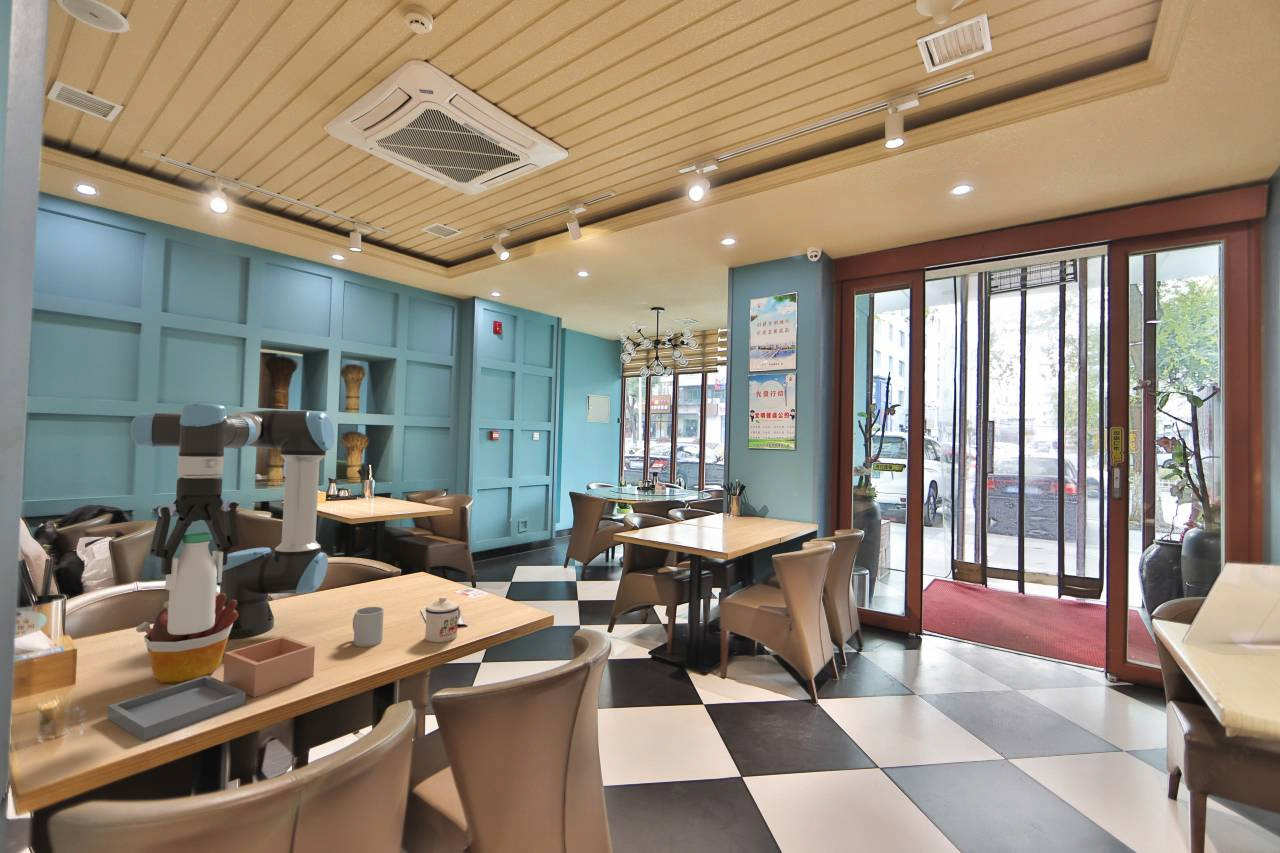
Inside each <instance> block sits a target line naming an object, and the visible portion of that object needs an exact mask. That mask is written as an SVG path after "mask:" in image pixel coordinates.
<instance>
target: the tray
mask: <svg viewBox="0 0 1280 853" xmlns="http://www.w3.org/2000/svg"><path fill="white" fill-rule="evenodd" d="M246 695H247V694H246V692H244V691H242V690H240V689H238V688H235V687H233V686H231V685H229V684H227V683H224V682H223V680H222V681H221V680H219V679H218V678H215V677H213V676H211V675H210V674H209V675H206V676H203V677H200V678H197V679H193V680H190V681H187V682H182V683H176V684H175V685H174V684H173V685H172V686H168V687H165V688H161V689H158V690H154V691H151V692H148V693H145V694H142V695H138V696H136V697H131V698H129V699H126V700H122V701H119V702H116V703H113V704H109V705H108V706H107V707H108V709H107V719H108V720H109V721H110V722H113V723H114V724H115V725H117V726H118V727H121V728H122V729H123V730H125V731H127V732H128V733H130V734H132V735H133V736H135V737H136V738H138V739H139V740H141V741H143V742H146V741H149V740H151V739H154V738H157V737H160V736H162V735H165V734H167V733H170V732H173V731H176V730H178V729H181V728H183V727H186V726H188V725H191V724H194V723H195V724H196V723H197V722H199V721H202V720H205V719H208V718H210V717H213V716H216V715H219V714H221V713H225V712H227V711H230V710H232V709H233V710H234V709H235V708H238V707H241V706H243V705H246Z"/></svg>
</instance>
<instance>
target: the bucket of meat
mask: <svg viewBox="0 0 1280 853" xmlns="http://www.w3.org/2000/svg"><path fill="white" fill-rule="evenodd" d="M226 599H227V596H226V594H225V593H220V592H219V594H218V595H216V611H215V624H214V626H213V627H212V628H210V629H208V630H205V631H202V632H198V633H193V634H185V635H173V634H169V633H168V631H167V626H168V608H169V600H168V601H165V602H164V603H163V608H164V609H162V610H161V611H159V612H158V615H157V616H156V618H155V621H154V623H153V625H152V628H151V623H150V622H147V621H143V623H141V624H139V625H138V626H136V629H135V631H136V632H137V633H144V632H145V633H146V634H145V635H144V636H143V637H144V642H145V645H146V649H147V652H148V656H149V661H150V664H151V670H152V672H153V673H152V674H153V676H154V677H155V678H156V679H157V680H158V681H159V682H161V683H162V684H180V683H184V682H187V681H190V680H193V679H197V678H200V677H203V676H206V675H209V676H210V675H212V674H213V673H214V672H215V670H217V668H218V667H219V665H221V662H222V659H223V655H224V654H225V649H226V646H227V643H228V640H229V639H228V637H229V634H230V630H231V628H232V625H233V622H234V621H235V620H236V619H237V618H238V616H239V614H238V613H237V611H236V610H234V609H235V607H236V605H237V601H236V600H231V601H230V602H228V604H227V605H226V607H225V606H224V604H225V601H226Z"/></svg>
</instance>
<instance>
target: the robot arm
mask: <svg viewBox="0 0 1280 853" xmlns="http://www.w3.org/2000/svg"><path fill="white" fill-rule="evenodd" d="M130 423H131V424H130V432H129V434H130V437H131V439H132V440H133V442H134V443H135V444H137V445H139V446H143V447H144V446H145V447H154V448H155V447H160V448H161V447H165V448H166V447H167V448H168V447H172V448H173V447H176V448H178V460H177V475H178V476H180V477H178V478H177V479H176V492H175V495H176V496H175V497H176V499H175V501H174V502H173V503H172V504H170V505H166V506H165V505H164V506H161V505H159V506H157V507H156V508H155V511H156V516H157V520H156V524H155V529H154V532H153V533H154V534H153V537H152V541H151V544H150V545H151V546H150V550H149V555H150V556H152V557H157V558H160V559H161V560H160V561H161V565H160V566H161V567H160V573H161V575H164V576H165V584H164V585H165V590H166V591H169V592H170V591H176V585H177V568H178V560H179V558H178V557H175V554H176V552H177V550H178V548H179V546H180V544H181V542H182V538H183V536H184V535H185V534H187V533H186V532H187V530H188V528H189V527H190V526H191V525H192V524H193V522H199V521H203V522H205V523H206V526H207V527H208V528H207V529H208V530H209V533H210V536H211V538H212V540H213V542H214V544H215V547H216V549H217V550H212V554H211V557H212V558H213V560H214V562H215V565H216V569H217V584H218V583H219V594H220V593H225V594H226V596H227V599H226V601H225V604H224V606H225V607H226V605H227V604H228V602H230V601H231V600H236V601H237V605H236V607H235V609H234V610H236V611H237V613H238V614H239V616H238V618H237V619H236V620H235V621H234V622H233V625H232V628H231V630H230V634H229V637H228V640H231V639H240V638H247V637H252V636H256V635H260V634H263V633H266V632H268V631H270V630H272V629H273V628H274V627H275V626H274V625H275V617H274V613H273V611H272V608H271V605H270V603H269V602H270V601H269V594H270V595H272V594H273V595H274V594H276V595H277V594H296V595H300V594H306V593H307V594H309V593H310V594H311V593H314V592H315V591H317V590H318V589H319V588H320V587H321V585H322V584H323V581H324V579H325V578H326V574H327V570H328V563H329V560H328V555H327V553H325V552H324V551H321V549H322V547H321V544H320V543H318V541H317V540H316V534H317V532H316V531H317V516H318V514H317V512H318V495H319V479H320V462H321V461H322V460H323V459H324V458H325V457H326V455H327V453H326V452H327V451H330V450H332V448H333V446H334V443H335V430H334V426H333V422H332V420H331V419H330V417H329V415H327V414H326V413H324V412H322V411H312V410H279V409H266V410H256V411H239V412H235V413H232V414H231V415H230V414H228V415H227V408H226V407H225V406H224V405H223V404H213V403H194V402H189V403H186V404H183V406H182V407H181V413H169V412H168V413H166V412H165V413H162V412H144V413H139V414H137V415H135V416H134V418H132V421H131V422H130ZM244 447H245V448H246V447H255V448H261V449H272V450H273V449H274V450H280V452H279V454H280V457H281V458H282V459H283V460H284V461H285V471H284V472H285V474H284V493H283V511H282V528H281V542H280V543H279V545H277V546H276V547H275V549H274V553H272V550H271V548H270V547H255V548H247V549H243V550H237V551H235V552H231V553H229V551H231V549H232V548H234V547H235V548H237V546H238V545H239V537H238V528H237V518H236V512H237V507H238V503H237V502H235V501H224V500H223V498H222V492H223V478H222V476H221V475H223V472H224V459H225V458H224V456H225V449H240V448H244ZM220 476H221V477H220ZM220 509H221V510H222V511H223V512H222V513H223V514H222V515H223V524H224V531H223V528H222V527H221V524H220V519H219V516H218V514H217V512H218V511H219V510H220ZM174 511H175V512H177V514H178V517H177V519H176V522H175V526H174V527H173V529H172V532H171V534H170V535H169V537H168V533H169V529H170V525H171V519H172V518H171V516H173V514H174ZM224 534H225V535H224ZM167 537H168V539H167Z"/></svg>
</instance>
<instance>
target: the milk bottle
mask: <svg viewBox="0 0 1280 853" xmlns="http://www.w3.org/2000/svg"><path fill="white" fill-rule="evenodd" d="M210 541H211V533H210V532H205V531H202V532H200V531H199V532H188V533H185V535H184V536H183V538H182V540H181V542H182V543H181V544H182V548H183V549H182V552H181V554H180V556H179V558H178V568H177V585H176V591H169V593H168V594H169V596H168V601H169V608H168V626H167V631H168V633H169V634H173V635H185V634H193V633H198V632H202V631H205V630H208V629H210V628H212V627H213V626H214V624H215V611H216V597H217V591H218V590H217V588H218V586H217V585H218V583H217V569H216V565H215V562H214V560H213V558H212V554H211V552H210V548H209V545H210V543H211V542H210Z"/></svg>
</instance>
